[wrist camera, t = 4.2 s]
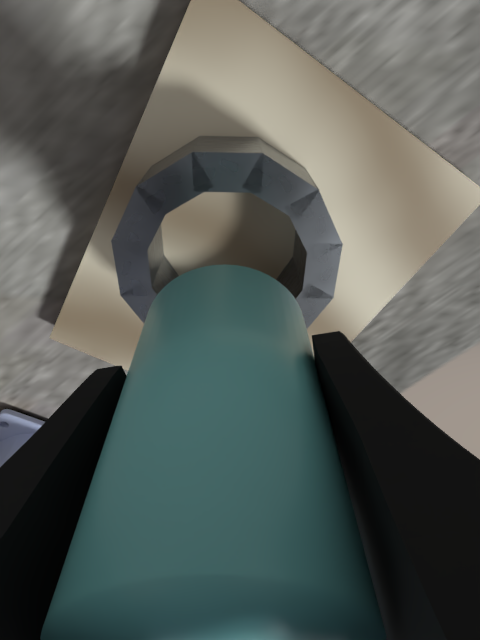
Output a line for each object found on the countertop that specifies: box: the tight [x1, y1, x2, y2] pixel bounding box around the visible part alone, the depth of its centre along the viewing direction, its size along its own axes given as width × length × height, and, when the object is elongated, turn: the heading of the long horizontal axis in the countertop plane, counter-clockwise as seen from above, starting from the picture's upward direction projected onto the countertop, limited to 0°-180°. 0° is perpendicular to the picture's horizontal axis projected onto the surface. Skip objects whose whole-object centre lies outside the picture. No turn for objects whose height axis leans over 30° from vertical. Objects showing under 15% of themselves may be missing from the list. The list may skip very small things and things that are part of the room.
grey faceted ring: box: [111, 135, 343, 329], centre depth 16 cm, size 8×8×3 cm
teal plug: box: [40, 264, 387, 640], centre depth 8 cm, size 4×4×7 cm
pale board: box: [50, 0, 480, 371], centre depth 18 cm, size 16×13×1 cm
